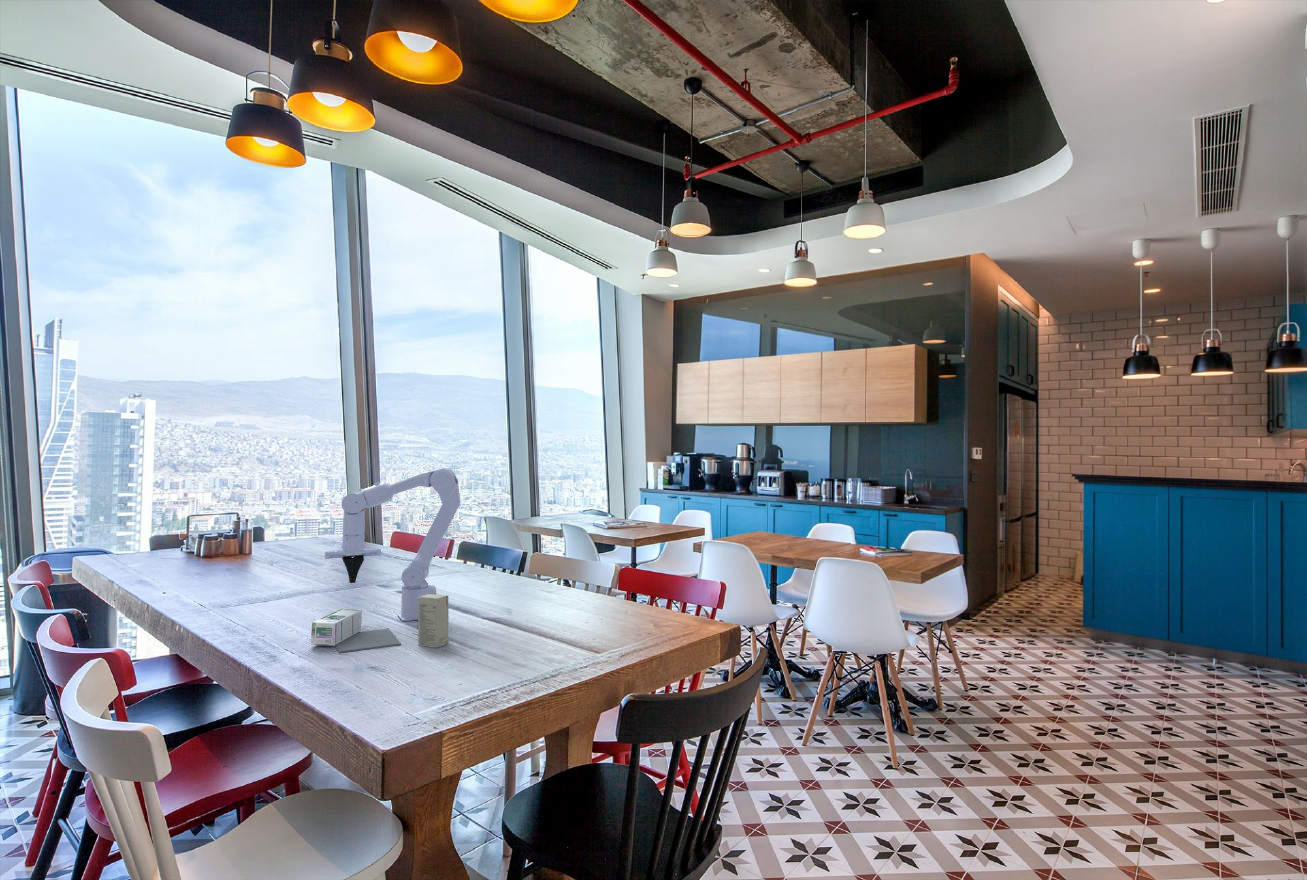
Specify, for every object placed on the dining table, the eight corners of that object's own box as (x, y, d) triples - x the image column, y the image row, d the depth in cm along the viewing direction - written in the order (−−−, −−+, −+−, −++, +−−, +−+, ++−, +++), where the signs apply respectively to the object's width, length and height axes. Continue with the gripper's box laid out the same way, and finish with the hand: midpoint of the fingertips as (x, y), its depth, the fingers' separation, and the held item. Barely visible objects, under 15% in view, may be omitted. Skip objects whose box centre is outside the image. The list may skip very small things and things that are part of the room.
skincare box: (449, 643, 166) (450, 595, 166) (438, 648, 162) (439, 598, 162) (427, 640, 168) (429, 592, 168) (416, 645, 164) (417, 596, 164)
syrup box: (362, 609, 175) (334, 622, 161) (361, 631, 175) (333, 646, 160) (341, 608, 175) (311, 621, 161) (340, 631, 175) (310, 645, 161)
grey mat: (388, 629, 178) (388, 628, 178) (400, 645, 164) (400, 643, 164) (331, 636, 170) (331, 635, 170) (339, 653, 157) (339, 651, 157)
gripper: (378, 532, 196) (377, 578, 196) (324, 534, 188) (322, 582, 188) (382, 534, 190) (381, 582, 190) (326, 537, 182) (325, 586, 182)
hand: (352, 582), depth 188 cm, fingers closed
